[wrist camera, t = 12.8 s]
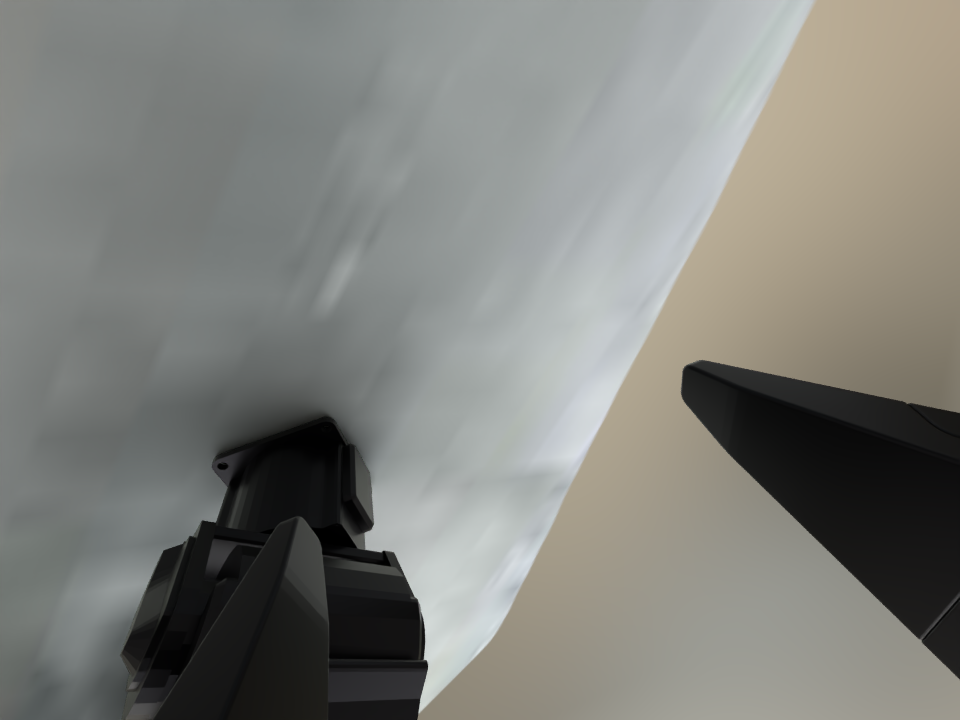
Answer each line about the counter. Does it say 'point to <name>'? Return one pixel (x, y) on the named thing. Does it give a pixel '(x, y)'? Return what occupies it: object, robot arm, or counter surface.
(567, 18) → the counter surface
